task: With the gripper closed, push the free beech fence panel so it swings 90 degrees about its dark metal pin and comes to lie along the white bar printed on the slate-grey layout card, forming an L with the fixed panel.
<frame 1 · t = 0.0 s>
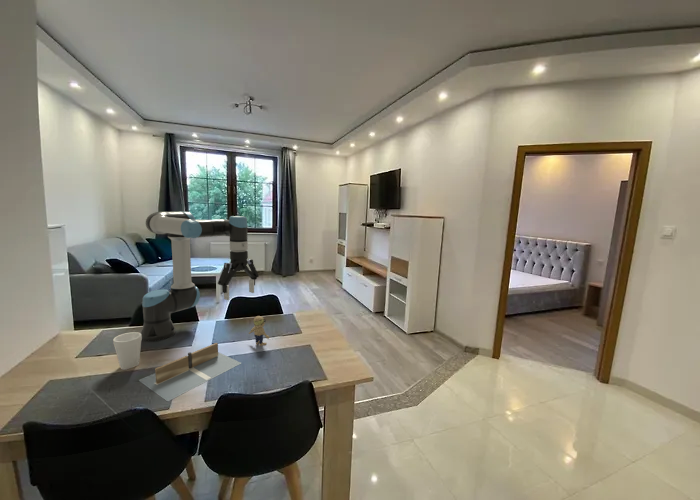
hand: (239, 295, 134), 28 cm above the table, fingers open, 13 cm apart
fixed panel: (173, 376, 116), resting on layout card
toy: (259, 344, 146), on the table
foam cup: (129, 366, 123), on the table
layout card: (193, 372, 120), on the table
fence panel: (203, 354, 127), point 4 cm above the table, hinge at 0.0°
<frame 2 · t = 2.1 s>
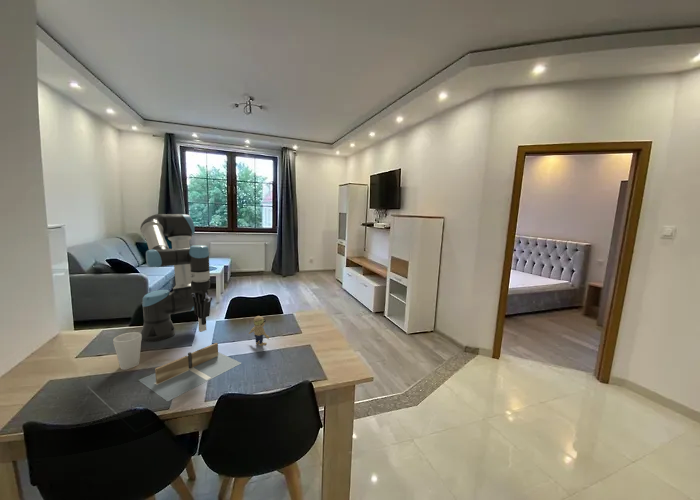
hand: (202, 330, 132), 12 cm above the table, fingers closed
nothing on the table moved.
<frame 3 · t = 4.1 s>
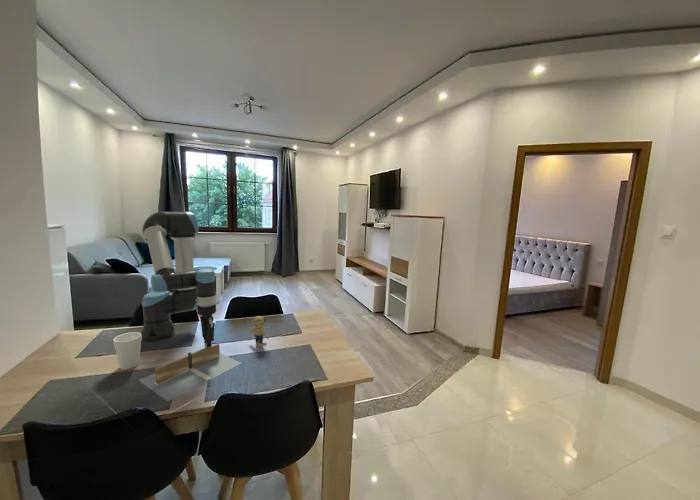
hand: (208, 354, 131), 2 cm above the table, fingers closed
fence panel: (204, 355, 127), point 4 cm above the table, hinge at 5.8°, touching gripper
everything else where it was.
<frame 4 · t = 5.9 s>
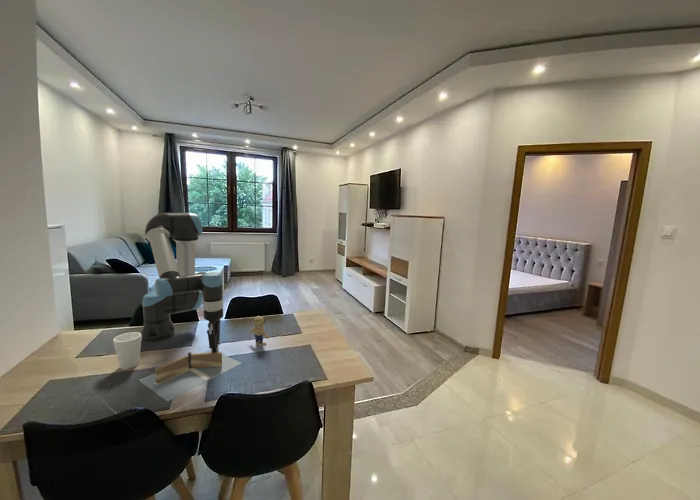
hand: (215, 360, 127), 2 cm above the table, fingers closed
fence panel: (205, 359, 123), point 4 cm above the table, hinge at 48.0°, touching gripper
everything else where it was.
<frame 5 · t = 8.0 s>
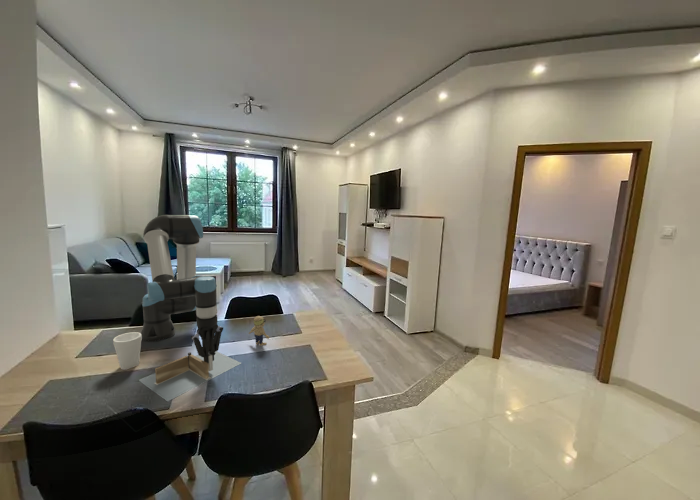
hand: (209, 369, 120), 2 cm above the table, fingers closed
fence panel: (197, 364, 119), point 4 cm above the table, hinge at 91.1°, touching gripper
everything else where it was.
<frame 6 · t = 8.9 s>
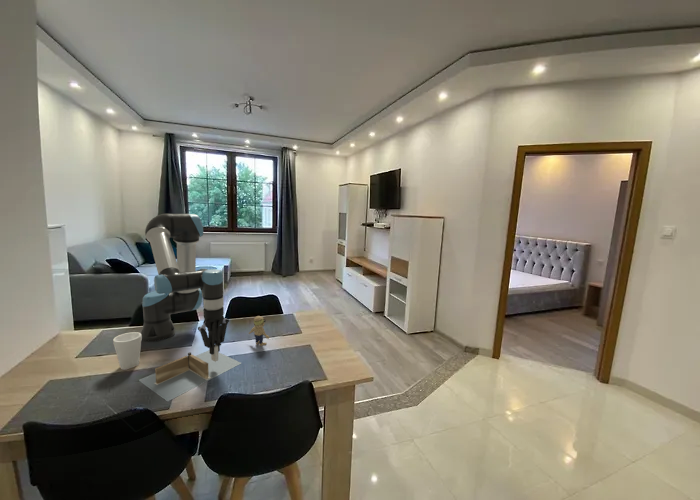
hand: (214, 359, 123), 4 cm above the table, fingers closed
fence panel: (197, 365, 119), point 4 cm above the table, hinge at 91.2°
everything else where it was.
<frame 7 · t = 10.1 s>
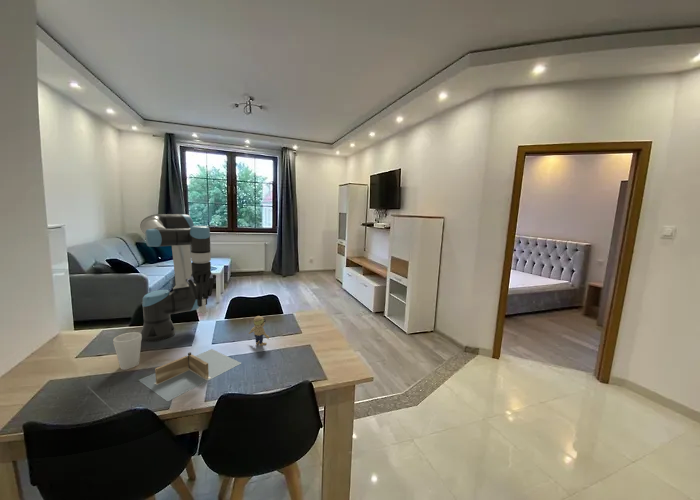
hand: (202, 312, 130), 21 cm above the table, fingers closed
nothing on the table moved.
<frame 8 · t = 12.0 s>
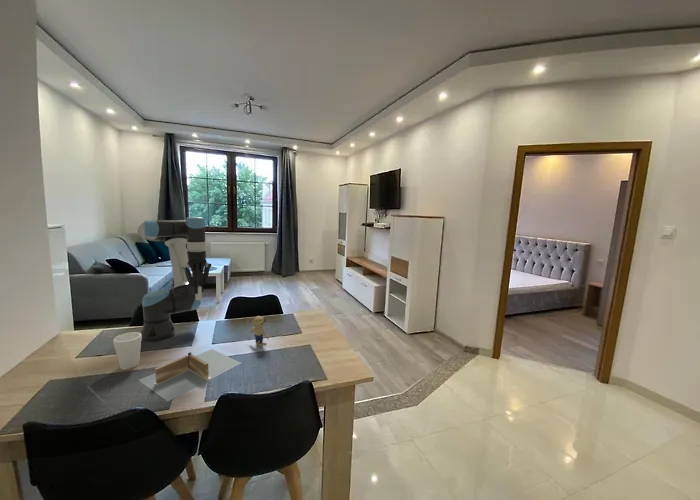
hand: (198, 299, 137), 24 cm above the table, fingers closed
nothing on the table moved.
at the end: fence panel at +91° (first picture: +0°) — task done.
